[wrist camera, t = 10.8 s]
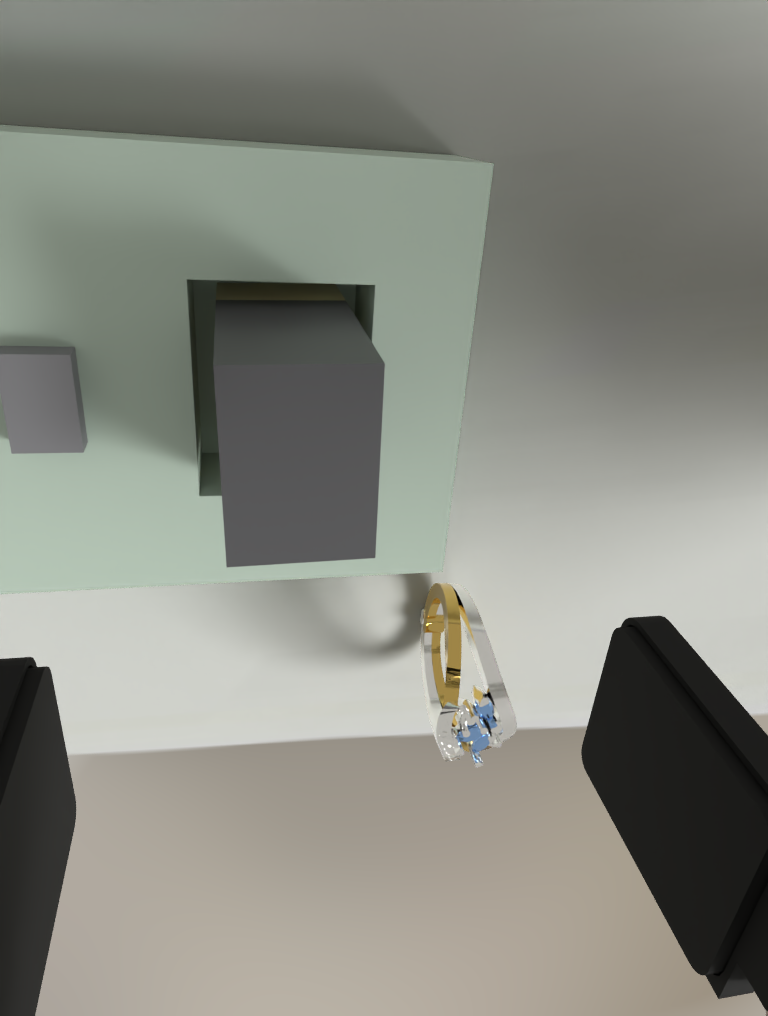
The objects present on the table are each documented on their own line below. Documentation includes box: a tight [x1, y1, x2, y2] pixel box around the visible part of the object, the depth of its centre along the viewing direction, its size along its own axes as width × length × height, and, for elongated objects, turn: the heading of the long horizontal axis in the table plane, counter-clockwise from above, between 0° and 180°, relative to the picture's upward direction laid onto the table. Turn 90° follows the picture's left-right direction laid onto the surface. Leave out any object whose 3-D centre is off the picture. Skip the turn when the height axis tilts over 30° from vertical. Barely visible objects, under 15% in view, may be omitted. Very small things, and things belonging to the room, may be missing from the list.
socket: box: [0, 125, 494, 594], centre depth 24 cm, size 16×14×5 cm
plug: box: [213, 283, 385, 567], centre depth 22 cm, size 4×6×9 cm
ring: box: [420, 583, 517, 768], centre depth 30 cm, size 7×3×8 cm, turn 173°
